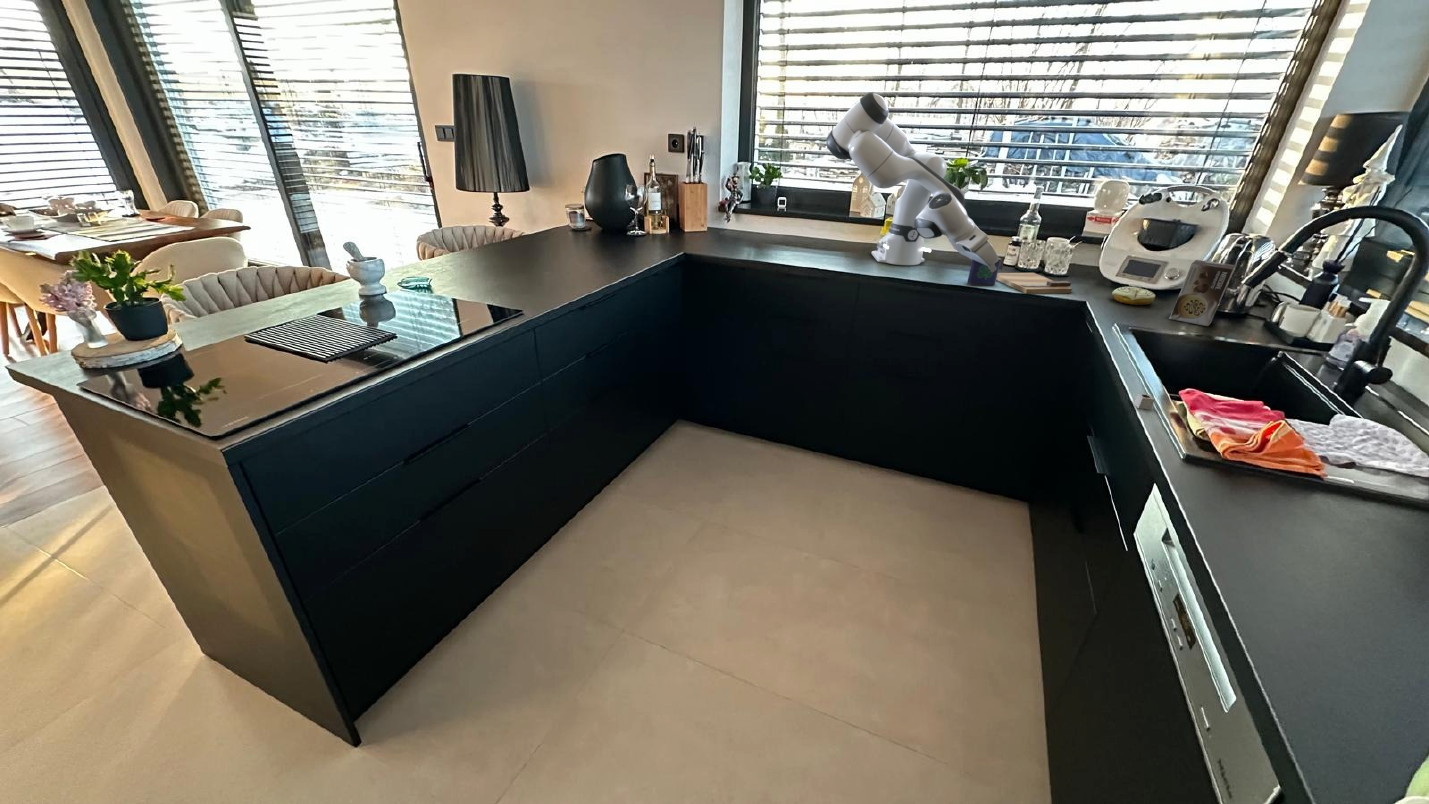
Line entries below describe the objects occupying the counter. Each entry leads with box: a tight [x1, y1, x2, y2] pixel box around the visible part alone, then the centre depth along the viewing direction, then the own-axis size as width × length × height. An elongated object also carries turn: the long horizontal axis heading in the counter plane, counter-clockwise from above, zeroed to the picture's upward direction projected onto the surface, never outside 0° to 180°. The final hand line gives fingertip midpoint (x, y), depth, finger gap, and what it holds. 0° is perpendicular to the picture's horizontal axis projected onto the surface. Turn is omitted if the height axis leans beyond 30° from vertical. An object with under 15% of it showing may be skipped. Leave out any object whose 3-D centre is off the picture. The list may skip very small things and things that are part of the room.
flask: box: [966, 257, 1002, 287], centre depth 185 cm, size 9×3×11 cm, turn 87°
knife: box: [1022, 280, 1072, 287], centre depth 182 cm, size 2×16×1 cm, turn 97°
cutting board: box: [996, 272, 1073, 295], centre depth 188 cm, size 20×16×2 cm
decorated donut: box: [1111, 286, 1156, 306], centre depth 173 cm, size 10×11×4 cm
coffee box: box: [1168, 259, 1237, 327], centre depth 154 cm, size 9×6×16 cm
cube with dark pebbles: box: [1133, 393, 1156, 411], centre depth 109 cm, size 2×2×2 cm
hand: (985, 266), depth 185 cm, fingers open, 8 cm apart
